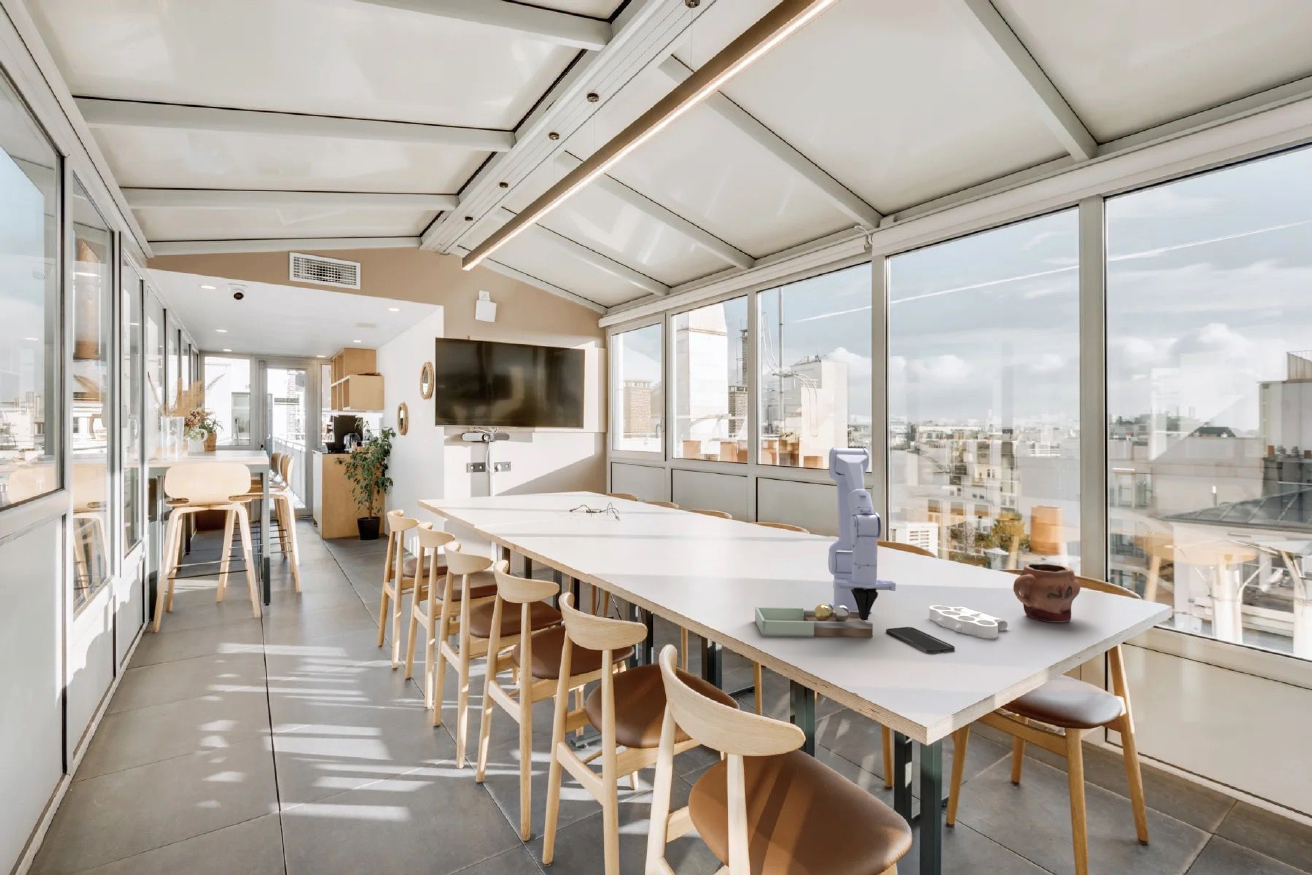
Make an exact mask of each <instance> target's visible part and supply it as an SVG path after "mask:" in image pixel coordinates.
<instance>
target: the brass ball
mask: <svg viewBox="0 0 1312 875" xmlns="http://www.w3.org/2000/svg"><path fill="white" fill-rule="evenodd" d="M813 610H814V615H815V617H816V618H817V619H818V620H819V621H827V620H829V619H830V617H831V611H832V610H831V609H830V607H829V606H827V605H825V604H819V605H817V606H815V608H814V609H813Z"/></svg>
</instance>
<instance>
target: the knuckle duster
mask: <svg viewBox="0 0 1312 875" xmlns="http://www.w3.org/2000/svg"><path fill="white" fill-rule="evenodd" d="M928 619H929V621H932V622H936V623H938V625H939V626H940V627H943V628H948V629H950V630H952V631H955V632H958V633H962V634H967V635H972V636H975V637H978V638H983V639H988V640H990V639H997V638H998V637H999V632H1002V631H1006V629H1007V628H1008V622H1007V620H1005V619H1003V618H1000V617H994V616H992V615H989V614H986V613H983V612H979V611H976V610H972V609H969V608H967V607H965V606H964V607H963V606H957V607H954V606H953V607H952V606H948V605H947V606H945V605H937V604H935V605H930V606H929V607H928Z"/></svg>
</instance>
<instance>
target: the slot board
mask: <svg viewBox="0 0 1312 875" xmlns="http://www.w3.org/2000/svg"><path fill="white" fill-rule="evenodd" d="M814 610H815V609H813V610H812V609H803V621H813V622H814V637H839V638H840V637H842V638H843V637H846V638H847V637H851V638H853V637H854V638H873V635H874V634H873V632H874V630H873V625H874V624H873V623H872V622H871V621H868V622H866V620H861V619H860V617H859V611H849V612H850V616H849V618H848V620H846V621H845V622H839V621H837V620H836V619H835V618H834V617H833V610H831V617H830V619H829V620H827V621H819V620H818V619H817V618H816V617H815V615H814Z"/></svg>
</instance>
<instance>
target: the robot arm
mask: <svg viewBox="0 0 1312 875" xmlns="http://www.w3.org/2000/svg"><path fill="white" fill-rule="evenodd" d="M869 464H870V455H869V451H868V450H867V449H866V448H865V447H862V448H857V447H856V448H855V447H854V448H851V447H850V448H847V447H846V448H845V447H844V448H843V447H842V448H841V447H839V448H838V447H831V448H830V450H829V454H828V472H829V473H828V474H829V478H830V479H831V480H834V481H835V484H836V490H837V514H838V515H837V516H838V518H837V519H838V521H837V522H838V540H837V541H835V542H833V543H832V544H831V545H830V546H829V548H828V560H827V561H828V562H827V563H828V564H827V565H828V571H829V573H830V574H831V575H833V585H832V586H833V602H832V601H830V602H828V605H829V606H831V607H832V609H834V608H835V607H836V606H837V605H844V606H845V607H847V608H848V610H849V611H859V617H860V619H861V620H864V621H869V617H870V616H869V615H870V614H871V613H873V611H872V607H873V606H874V603H875V601H876V600H877V598H878V596H879V592H878V591H891V592H895V591H896V588H897V587H896V582H894V581H893V580H880V579H877V578H878V542H879V541H878V539H879V538H881V535H882V520H881V516H880V514H878V512H877V511H875V508H874V503H873V500H872V495H871V493H870V492H869V491H867V490H866V488H865V487H866V486H865V475H866V472H867V469H868V468H869Z"/></svg>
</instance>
